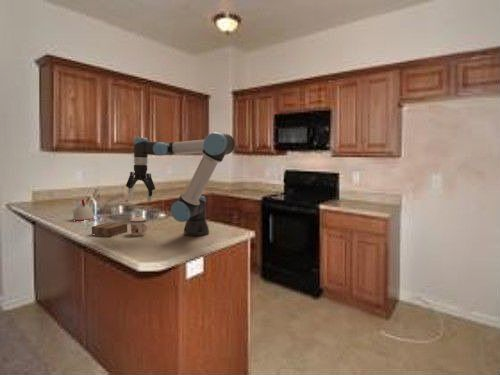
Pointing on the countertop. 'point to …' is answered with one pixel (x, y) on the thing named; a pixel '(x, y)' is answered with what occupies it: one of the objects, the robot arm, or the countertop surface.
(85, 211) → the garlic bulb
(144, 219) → the teacup with lid
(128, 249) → the countertop surface
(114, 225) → the block
